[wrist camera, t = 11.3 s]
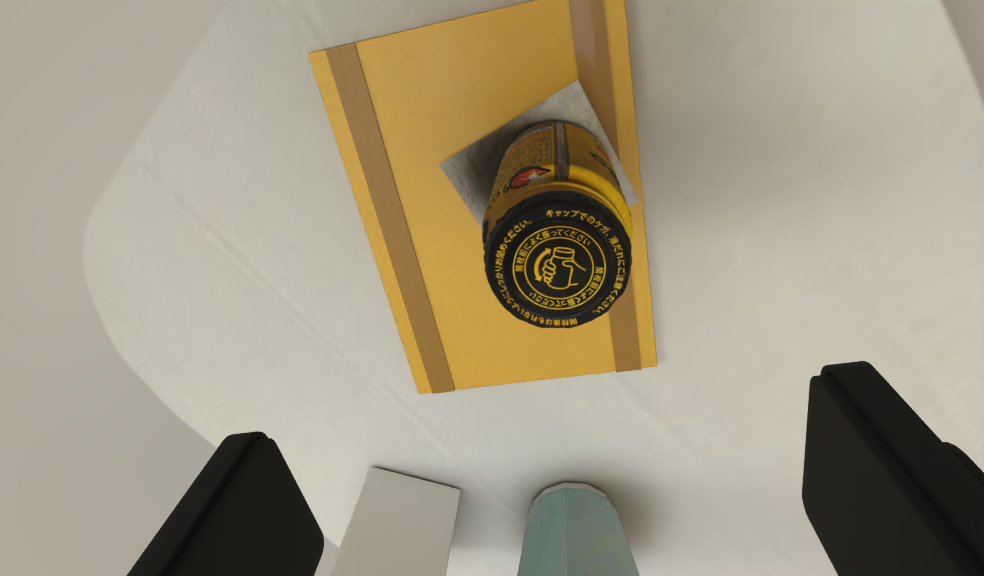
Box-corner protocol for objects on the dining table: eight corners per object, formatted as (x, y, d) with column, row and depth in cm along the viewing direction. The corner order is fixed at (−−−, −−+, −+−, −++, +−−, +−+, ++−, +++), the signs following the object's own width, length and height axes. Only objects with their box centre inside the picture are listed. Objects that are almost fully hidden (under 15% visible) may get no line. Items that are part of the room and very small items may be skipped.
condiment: (639, 200, 30) (688, 306, 19) (507, 268, 32) (485, 394, 22) (577, 78, 27) (594, 122, 17) (439, 163, 30) (377, 247, 19)
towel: (310, 53, 28) (306, 53, 28) (622, -21, 26) (623, -21, 25) (419, 390, 38) (418, 395, 37) (656, 362, 35) (657, 367, 34)
